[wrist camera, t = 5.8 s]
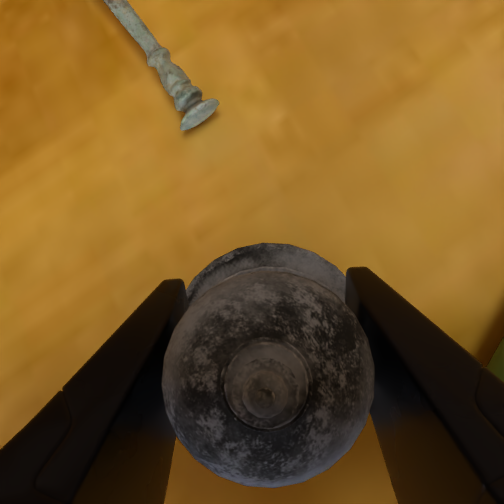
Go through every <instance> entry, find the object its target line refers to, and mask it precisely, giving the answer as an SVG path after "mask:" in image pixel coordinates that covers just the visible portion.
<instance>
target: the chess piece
mask: <svg viewBox="0 0 504 504" xmlns="http://www.w3.org/2000/svg"><path fill="white" fill-rule="evenodd" d="M345 285H346V277H345V275H344V274H343V273H342V272H341V271H340V270H339V269H338V268H337V267H336V266H335V265H333V264H332V263H330V262H328V261H327V260H325V259H324V258H322V257H320V256H319V255H317V254H316V253H314V252H312V251H308V250H305V249H302V248H299V247H296V246H293V245H290V244H275V243H260V244H255V245H250V246H246V247H241V248H237V249H235V250H233V251H231V252H229V253H227V254H225V255H223V256H221V257H219V258H217V259H215V260H214V261H212V262H211V263H210V264H209V265H208V266H207V267H206V268H204V269H203V270H202V271H201V272H200V273H199V274H198V275H197V276H195V278H194V279H193V280H192V282H191V283H190V285H189V286H188V288H187V289H186V294H187V298H188V303H189V308H188V309H187V311H186V312H185V314H184V315H183V317H182V318H181V319H180V321H179V322H178V324H177V325H176V327H175V328H174V331H173V334H172V336H171V339H170V342H169V345H168V347H167V350H166V353H165V356H164V364H163V374H162V390H163V397H164V403H165V409H166V413H167V415H168V418H169V420H170V422H171V424H172V427H173V429H174V431H175V433H176V436H177V438H178V439H179V440H180V441H181V443H182V444H183V445H184V446H185V448H186V449H187V450H188V451H189V452H190V454H191V455H192V456H193V457H194V459H195V460H197V461H198V462H199V463H201V464H202V465H204V466H205V467H206V468H208V469H209V470H211V471H212V472H214V473H215V474H216V475H218V476H220V477H223V478H225V479H228V480H231V481H234V482H236V483H239V484H242V485H245V486H255V487H268V488H277V487H282V486H287V485H291V484H296V483H301V482H304V481H306V480H308V479H310V478H312V477H314V476H316V475H318V474H320V473H322V472H324V471H326V470H328V469H329V468H330V467H331V466H332V465H334V464H335V463H336V462H337V461H338V460H339V459H340V458H341V457H342V456H343V455H344V454H345V453H347V452H348V451H349V450H350V449H351V447H352V445H353V444H354V442H355V441H356V439H357V437H358V436H359V434H360V433H361V431H362V429H363V428H364V426H365V425H366V421H367V418H368V415H369V411H370V408H371V404H372V401H373V398H374V369H375V368H374V363H373V358H372V354H371V350H370V346H369V342H368V338H367V336H366V334H365V332H364V331H363V329H362V327H361V325H360V323H359V321H358V319H357V318H356V316H355V314H354V313H353V312H352V311H351V310H350V309H349V308H348V307H347V305H346V304H345Z"/></svg>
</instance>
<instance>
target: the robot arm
mask: <svg viewBox="0 0 504 504" xmlns="http://www.w3.org/2000/svg"><path fill="white" fill-rule="evenodd" d="M345 304H346V305H347V307H348V308H349V309H350V310H351V311H352V312H353V313H354V314H355V316H356V318H357V319H358V321H359V323H360V325H361V327H362V329H363V331H364V332H365V334H366V336H367V338H368V342H369V346H370V350H371V354H372V358H373V363H374V368H375V369H374V398H373V401H372V404H371V408H370V414H371V417H372V421H373V424H374V427H375V430H376V434H377V437H378V440H379V443H380V447H381V450H382V453H383V456H384V460H385V463H386V466H387V469H388V473H389V476H390V479H391V482H392V486H393V489H394V492H395V495H396V499H397V502H398V504H504V382H503V381H502V380H501V379H500V378H498V377H497V376H496V375H495V374H494V373H493V372H491V371H490V370H489V369H488V368H486V367H483V365H482V363H480V362H479V361H478V360H477V359H476V358H474V357H473V356H472V355H471V354H470V353H469V352H467V351H466V350H465V349H464V348H463V347H461V346H460V345H459V344H458V343H457V342H455V341H454V340H453V339H452V338H451V337H449V336H448V335H447V334H446V333H445V332H444V331H442V330H441V329H440V328H439V327H438V326H436V325H435V324H434V323H433V322H432V321H430V320H429V319H428V318H427V317H426V316H425V315H423V314H422V313H421V312H420V311H419V310H417V309H416V308H415V307H414V306H413V305H411V304H410V303H409V302H408V301H407V300H406V299H404V298H403V297H402V296H401V295H400V294H398V293H397V292H396V291H395V290H394V289H392V288H391V287H390V286H389V285H388V284H387V283H385V282H384V281H383V280H382V279H381V278H379V277H378V276H377V275H376V274H375V273H373V272H372V271H371V270H370V269H369V268H367V267H350V268H348V269H347V272H346V285H345ZM188 308H189V303H188V298H187V294H186V289H185V285H184V282H183V280H182V279H167V280H164V281H162V282H161V283H160V284H159V286H158V287H157V288H156V289H155V290H154V291H153V292H152V293H151V294H150V295H149V296H148V297H147V298H146V299H145V300H144V301H143V303H142V304H141V305H140V306H139V307H138V308H137V309H136V310H135V311H134V312H133V313H132V314H131V315H130V316H129V317H128V318H127V320H126V321H125V322H124V323H123V324H122V325H121V326H120V327H119V328H118V329H117V330H116V331H115V332H114V333H113V334H112V335H111V337H110V338H109V339H108V340H107V341H106V342H105V343H104V344H103V345H102V346H101V347H100V348H99V349H98V350H97V351H96V352H95V354H94V355H93V356H92V357H91V358H90V359H89V360H88V361H87V362H86V363H85V364H84V365H83V366H82V367H81V368H80V369H79V371H78V372H77V373H76V374H75V375H74V376H73V377H72V378H71V379H70V380H69V381H68V382H67V383H66V384H65V385H64V386H63V388H62V390H63V391H59V392H58V393H57V394H56V395H55V396H54V397H53V398H52V399H51V400H50V401H49V402H48V403H47V404H46V405H45V406H44V407H43V408H42V409H41V410H40V411H39V413H38V414H37V415H36V416H35V417H34V418H33V419H32V420H31V421H30V422H29V423H28V424H27V425H26V426H25V427H24V428H23V429H22V430H20V431H19V432H18V433H17V434H16V435H15V436H14V437H13V438H12V439H11V440H10V441H9V442H8V443H7V444H6V445H4V446H3V447H2V448H1V449H0V504H164V501H165V495H166V490H167V484H168V478H169V473H170V467H171V462H172V456H173V451H174V445H175V439H176V433H175V431H174V429H173V427H172V424H171V422H170V420H169V418H168V415H167V413H166V409H165V403H164V397H163V390H162V374H163V364H164V356H165V353H166V350H167V347H168V345H169V342H170V339H171V336H172V334H173V331H174V328H175V327H176V325H177V324H178V322H179V321H180V319H181V318H182V317H183V315H184V314H185V312H186V311H187V309H188ZM482 367H483V368H482Z"/></svg>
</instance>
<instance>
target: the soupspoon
mask: <svg viewBox="0 0 504 504" xmlns="http://www.w3.org/2000/svg"><path fill="white" fill-rule="evenodd" d="M103 1H104V3H105V4H106V5H107V6H108V7H109V9H110V10H111V11H112V12H113V13H114V15H115V16H116V17H117V19H118V20H119V21H120V22H121V24H122V25H123V26H124V27H125V29H126V30H127V31H128V32H129V33H130V34H131V36H132V37H133V38H134V39H135V40H136V41H137V42H138V44H139V45H140V46H141V47H142V48H143V50H144V51H145V52H146V55H147V64H148V65H149V66H152V67H155V68H156V69H157V71H158V74H159V76H160V80H161V83H162V85H163V87H164V88H165V90H166V91H167V92H168V94H169V95H171V96H173V97H174V104H175V108H176V110H178V111H183V112H185V113H186V114H185V116H184V117H183V119H182V121H181V126H180V129H181V130H188V129H191V128H192V127H195V126H197V125H198V124H200V123H201V122H203V121H204V120H206V119H207V118H208V117H210V115H211V114H213V112H214V111H215V110H216V108H217V106H218V105H219V101H218V100H216V99H208V100H205V101H202V100H201V98H202V91H201V90H200V89H199V88H198V87H197V86H193V85H191V80H190V79H189V78H188V77H187V75H186V74H185V73H184V71H183V70H182V69H181V68H180V67H179V66H177V65H175V64H174V63H172V62H171V61H170V52H169V51H168V49H166V48H164V47H163V48H162V47H161V46H160V45H159V43H158V42H157V40H156V39H155V38H154V36H153V35H152V33H151V32H150V31H149V29H148V28H147V27H146V25H145V24H144V23H143V21H142V20H141V19H140V17H139V16H138V15H137V13H136V12H135V11H134V9H133V8H132V7H131V5H130V4H129V3H128V1H127V0H103Z"/></svg>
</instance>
